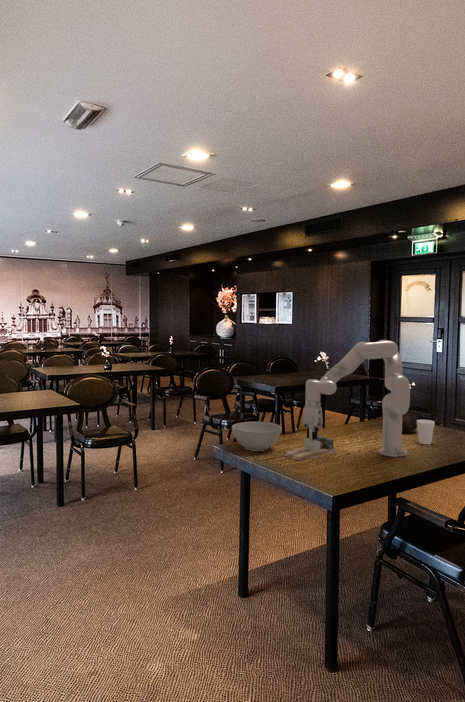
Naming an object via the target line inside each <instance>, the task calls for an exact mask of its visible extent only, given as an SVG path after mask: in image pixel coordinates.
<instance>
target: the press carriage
mask: <svg viewBox="0 0 465 702" xmlns="http://www.w3.org/2000/svg"><path fill="white" fill-rule="evenodd" d="M308 426H309V438H307V437H306V438H303V448H304V449H307V450H310V451H314V452H320V442H319V441H316V439H315V440H312V432H313V426H312V425H308Z"/></svg>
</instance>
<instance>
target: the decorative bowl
mask: <svg viewBox="0 0 465 702" xmlns="http://www.w3.org/2000/svg"><path fill="white" fill-rule="evenodd" d="M282 429H283V427H282V426H281V425H280V424H277V423H273V422H268V421H267V422H266V421H244V422H238V423H234V424H233V425H232V426H231V431H232V434H233V435H234V438H235V439H236V441H237V442H238V443H239V444H240V446H242V447H244V450H246V449H248V450H252V451H262V452H265V451H264V450H266V451H268V450H267V449H269V448H270V447H272V446H273V445H274V444H275V443H276V442H277V440H278V439H279V437H280V436H281V432H282ZM248 450H247V451H248ZM252 451H251V452H252Z"/></svg>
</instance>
